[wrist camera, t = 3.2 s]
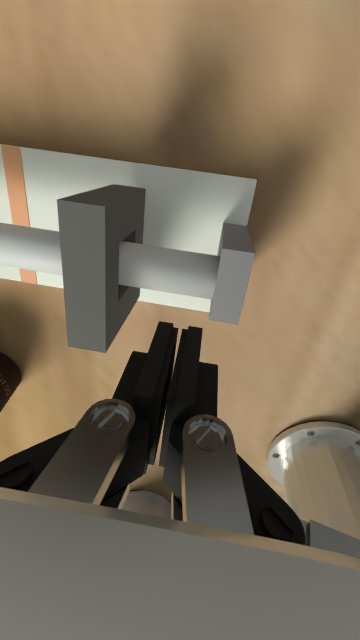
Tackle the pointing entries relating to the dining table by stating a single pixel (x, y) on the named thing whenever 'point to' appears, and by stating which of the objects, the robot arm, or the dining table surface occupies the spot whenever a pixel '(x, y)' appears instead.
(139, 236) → the collar
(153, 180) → the pipe rig
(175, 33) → the dining table surface
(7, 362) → the coffee mug
